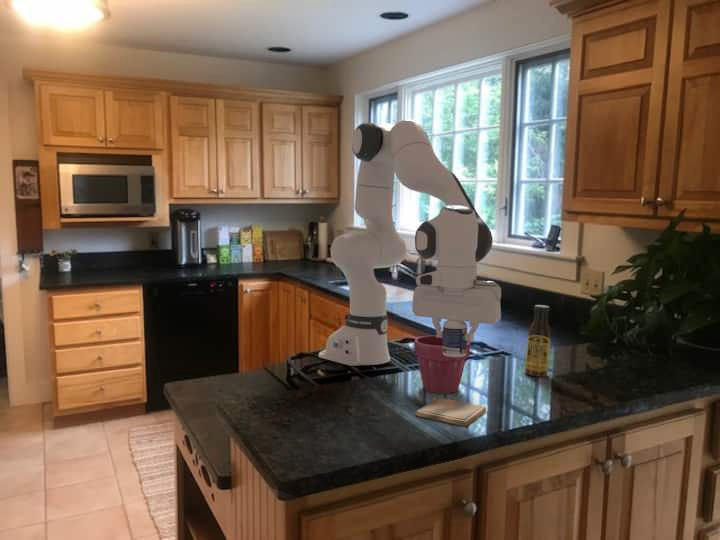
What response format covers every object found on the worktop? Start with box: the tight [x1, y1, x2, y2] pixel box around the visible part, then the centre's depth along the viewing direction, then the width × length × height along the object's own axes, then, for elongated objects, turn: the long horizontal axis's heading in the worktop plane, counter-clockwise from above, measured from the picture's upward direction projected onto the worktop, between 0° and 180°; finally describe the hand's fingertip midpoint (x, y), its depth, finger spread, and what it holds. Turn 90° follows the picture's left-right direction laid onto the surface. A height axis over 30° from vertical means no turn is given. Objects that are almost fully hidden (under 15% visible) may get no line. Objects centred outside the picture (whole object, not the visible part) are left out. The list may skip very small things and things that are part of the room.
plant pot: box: [413, 334, 471, 394], centre depth 156 cm, size 14×14×13 cm
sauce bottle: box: [524, 304, 552, 378], centre depth 170 cm, size 6×6×20 cm
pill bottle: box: [442, 313, 468, 357], centre depth 135 cm, size 5×5×10 cm
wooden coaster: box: [415, 397, 487, 427], centre depth 137 cm, size 12×12×1 cm
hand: (454, 339), depth 136 cm, fingers closed on pill bottle, 5 cm apart
